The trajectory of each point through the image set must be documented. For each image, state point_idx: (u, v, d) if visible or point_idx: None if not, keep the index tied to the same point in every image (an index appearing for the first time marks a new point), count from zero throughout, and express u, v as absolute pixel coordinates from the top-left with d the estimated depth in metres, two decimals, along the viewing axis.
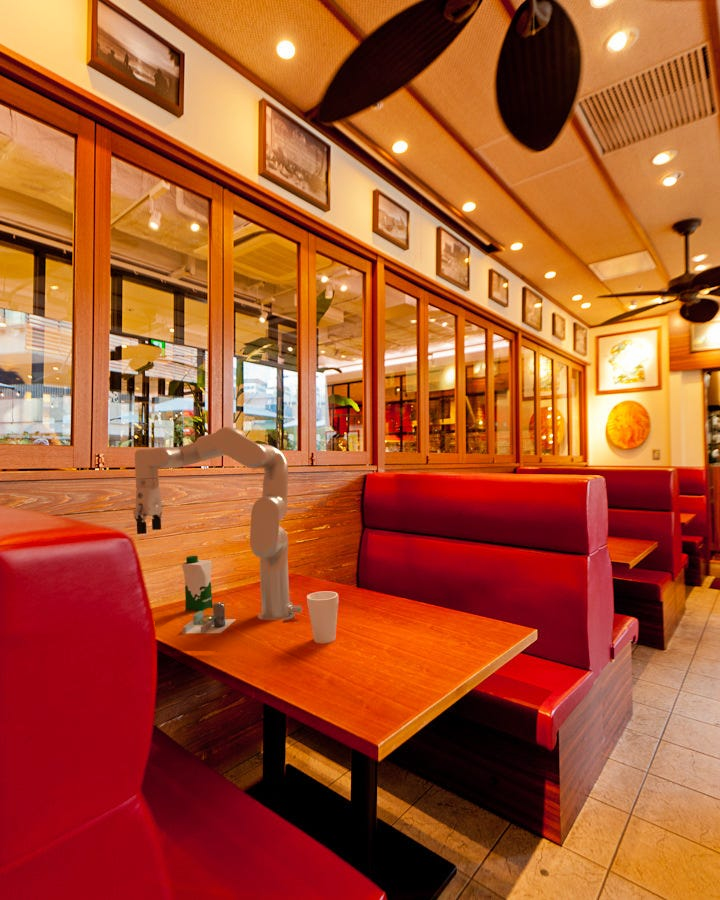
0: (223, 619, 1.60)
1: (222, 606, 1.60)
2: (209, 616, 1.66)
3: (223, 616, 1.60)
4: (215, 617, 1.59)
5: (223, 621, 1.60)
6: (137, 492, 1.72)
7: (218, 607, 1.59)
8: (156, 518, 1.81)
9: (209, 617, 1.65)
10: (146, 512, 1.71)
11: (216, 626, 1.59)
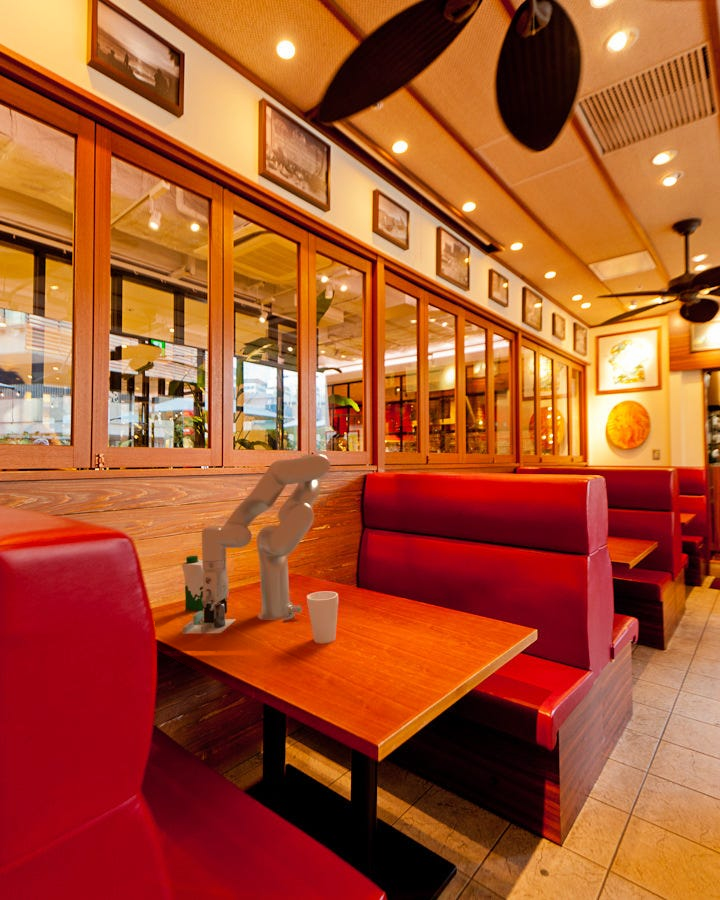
0: (223, 619, 1.60)
1: (222, 606, 1.60)
2: None
3: (223, 616, 1.60)
4: (215, 617, 1.59)
5: (223, 621, 1.60)
6: (205, 576, 1.57)
7: (218, 607, 1.59)
8: (222, 601, 1.65)
9: None
10: (214, 599, 1.55)
11: (216, 626, 1.59)
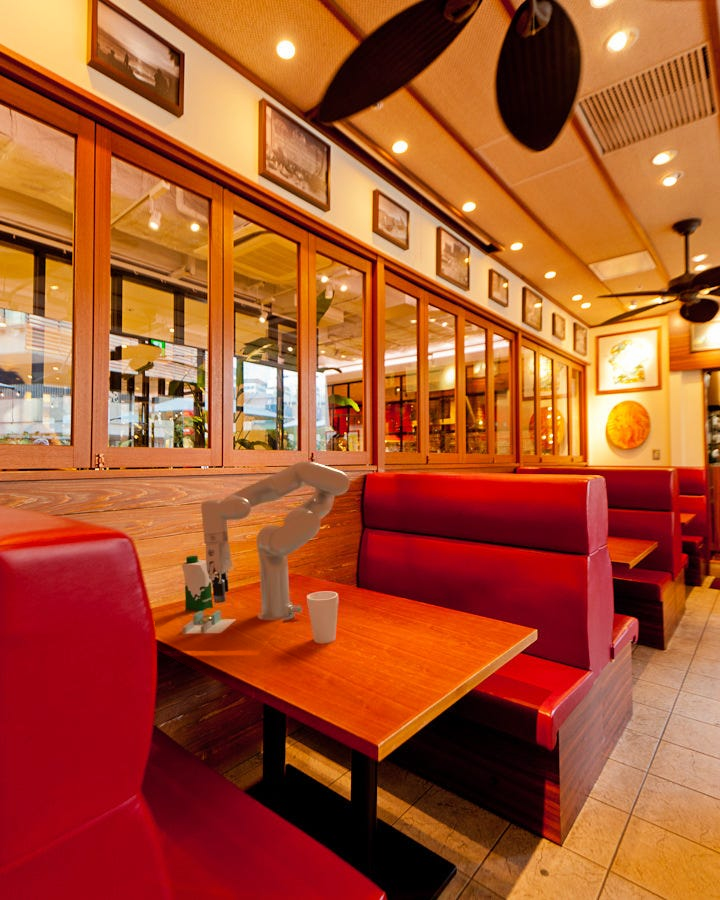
0: (223, 594, 1.61)
1: (222, 581, 1.61)
2: (209, 616, 1.66)
3: (223, 592, 1.61)
4: None
5: (223, 596, 1.61)
6: (207, 549, 1.57)
7: None
8: (222, 577, 1.63)
9: (209, 617, 1.65)
10: (218, 570, 1.56)
11: (216, 601, 1.60)
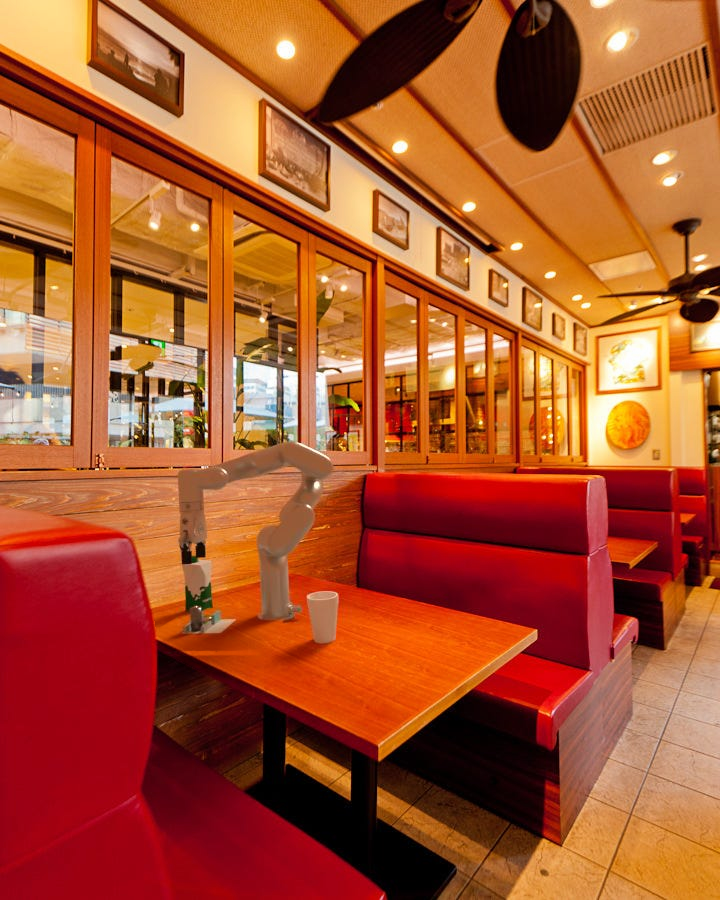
0: (200, 623, 1.57)
1: (199, 610, 1.57)
2: (209, 616, 1.66)
3: (200, 620, 1.57)
4: (192, 621, 1.57)
5: (200, 625, 1.57)
6: (181, 517, 1.54)
7: (194, 611, 1.56)
8: (200, 545, 1.63)
9: (209, 617, 1.65)
10: (192, 540, 1.53)
11: (193, 630, 1.56)
